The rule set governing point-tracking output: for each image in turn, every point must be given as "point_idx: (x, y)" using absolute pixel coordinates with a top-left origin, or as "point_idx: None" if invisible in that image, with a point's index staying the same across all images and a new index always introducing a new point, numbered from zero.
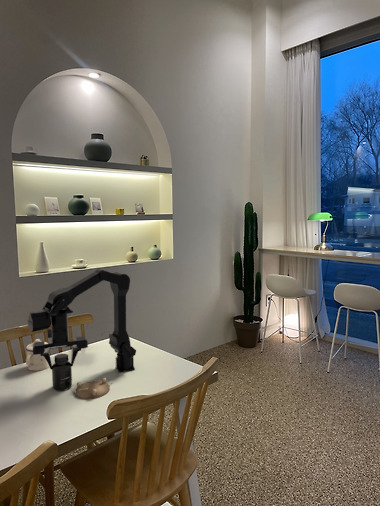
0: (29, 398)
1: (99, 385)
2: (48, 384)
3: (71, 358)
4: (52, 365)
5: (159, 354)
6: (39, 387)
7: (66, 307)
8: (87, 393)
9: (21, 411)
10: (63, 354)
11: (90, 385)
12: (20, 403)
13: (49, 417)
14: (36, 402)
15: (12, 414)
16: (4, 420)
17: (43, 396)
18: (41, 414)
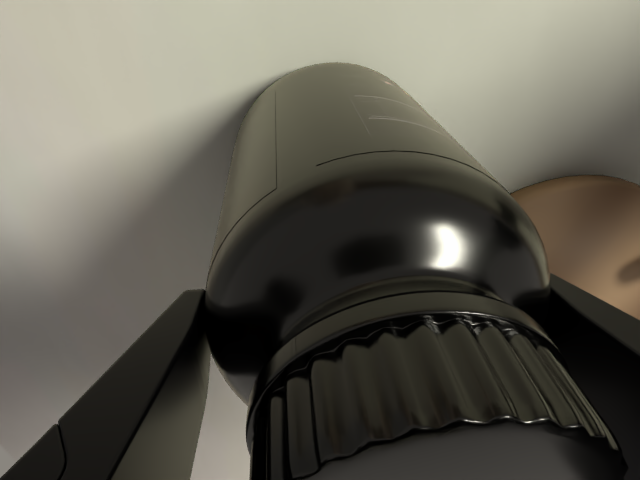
0: (55, 270)
1: (614, 283)
2: (173, 23)
3: (621, 405)
4: (212, 347)
5: None
6: (77, 73)
7: None
8: None
9: (67, 400)
10: (527, 475)
11: (557, 263)
12: (10, 320)
13: (246, 462)
14: (136, 334)
15: (22, 414)
16: (3, 448)
17: (171, 271)
18: (200, 439)
